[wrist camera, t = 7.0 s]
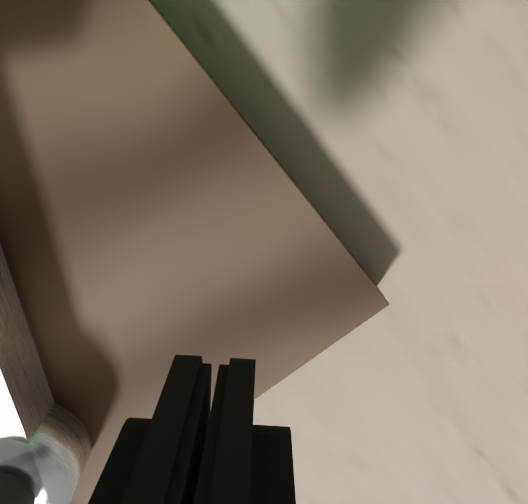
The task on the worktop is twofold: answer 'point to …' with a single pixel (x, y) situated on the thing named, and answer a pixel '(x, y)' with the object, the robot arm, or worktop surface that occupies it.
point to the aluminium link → (34, 411)
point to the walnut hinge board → (149, 221)
